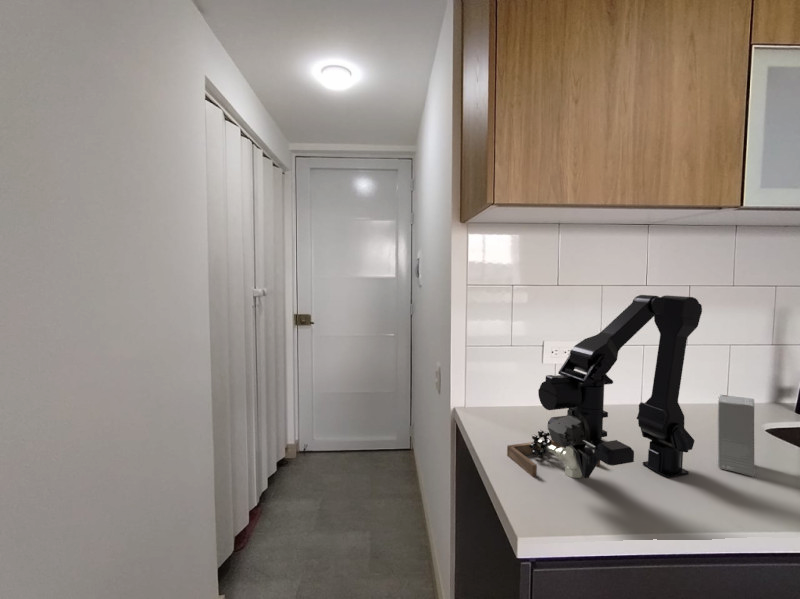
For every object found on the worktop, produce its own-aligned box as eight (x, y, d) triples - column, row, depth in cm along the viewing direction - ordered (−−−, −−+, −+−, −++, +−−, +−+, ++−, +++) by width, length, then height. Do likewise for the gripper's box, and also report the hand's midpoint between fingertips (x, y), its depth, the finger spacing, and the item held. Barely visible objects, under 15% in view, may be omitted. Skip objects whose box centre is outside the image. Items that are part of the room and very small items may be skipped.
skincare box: (754, 478, 87) (759, 407, 86) (713, 467, 92) (717, 400, 91) (753, 464, 94) (758, 398, 92) (715, 454, 98) (719, 391, 97)
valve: (591, 474, 88) (548, 453, 99) (592, 445, 88) (548, 427, 98) (571, 482, 85) (528, 459, 96) (572, 452, 85) (529, 432, 95)
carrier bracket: (569, 446, 103) (569, 437, 102) (599, 465, 93) (600, 455, 92) (507, 455, 98) (507, 445, 98) (532, 476, 88) (532, 465, 87)
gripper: (528, 395, 90) (526, 462, 91) (589, 425, 72) (586, 508, 73) (569, 391, 93) (567, 456, 94) (637, 419, 75) (634, 498, 76)
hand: (585, 477), depth 84 cm, fingers closed
